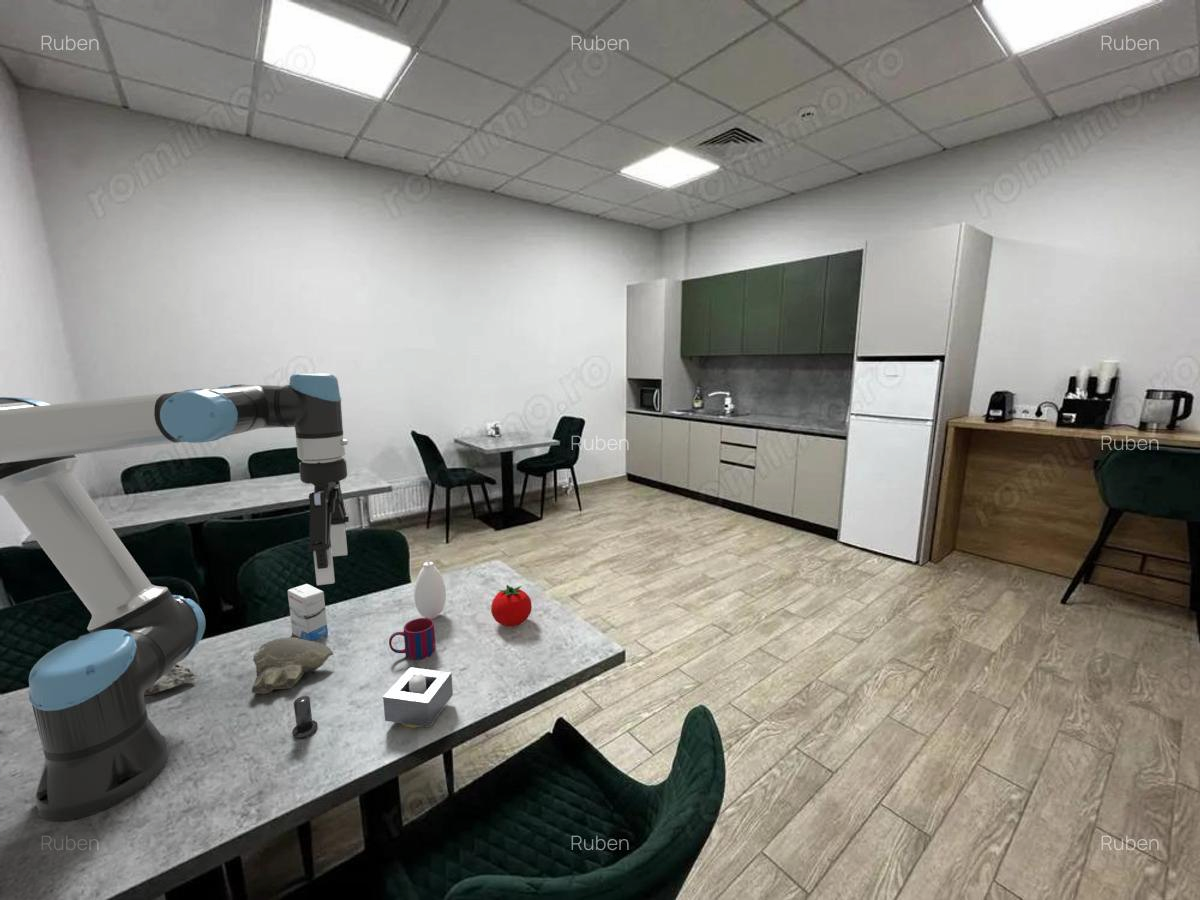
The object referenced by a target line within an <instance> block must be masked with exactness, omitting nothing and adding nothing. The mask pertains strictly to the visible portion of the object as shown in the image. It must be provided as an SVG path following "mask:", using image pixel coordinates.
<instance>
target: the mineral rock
mask: <svg viewBox="0 0 1200 900" xmlns="http://www.w3.org/2000/svg"><path fill="white" fill-rule="evenodd" d="M196 678H197V674H195V673H193V672H191V669H190V668H188V667H184V666H180V665H179V664H178V663H177V664H176V665H175V666H173V667H172V668H171V669H170V670H169V671H168V672H167V673H165V674H164V675H163V676H162V677H161V678H160V679H159V680H157V681H156V682H155V683H154V684H153V685H151V686H150V687H149V688H148V689H147V690H146V691H145V692H144V696H146V695H147V696H149V695H154V694H156V693H159V692H164V691H166V690H170V689H173V688H176V687H178V686H182V685H184V684H190V683H192V682H193V681H195V680H196Z"/></svg>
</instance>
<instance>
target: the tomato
mask: <svg viewBox="0 0 1200 900" xmlns="http://www.w3.org/2000/svg"><path fill="white" fill-rule="evenodd" d="M521 587H522V585H520V586H517V587H512V586H510V585H509V584H506V589H505V588H504V589H502V590H501V589H498V591H499V592H497V594H496V595H495V596H494V598H493V599H492V601H491V607H490V609H491V615H492V617H493V619H494V620H495V622H497V623H498V624H499V625H501V626H504V627H508V628H510V627H511V628H512V627H513V628H514V627H516V626H519V625H522V624H523V623H524V622H525V621H527V619H529V616H530V615H531V612H532V601H531V597H530V595H528V593H527V592H525V591H524V590H522V589H520V588H521Z"/></svg>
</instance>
